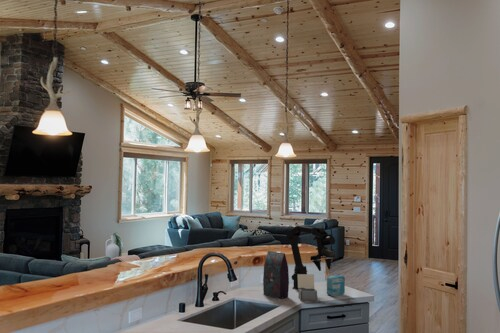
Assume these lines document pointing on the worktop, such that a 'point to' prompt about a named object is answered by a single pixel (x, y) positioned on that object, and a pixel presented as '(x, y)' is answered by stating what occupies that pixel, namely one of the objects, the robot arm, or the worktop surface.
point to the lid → (305, 280)
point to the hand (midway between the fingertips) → (324, 270)
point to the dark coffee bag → (276, 275)
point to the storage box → (307, 294)
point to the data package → (335, 285)
